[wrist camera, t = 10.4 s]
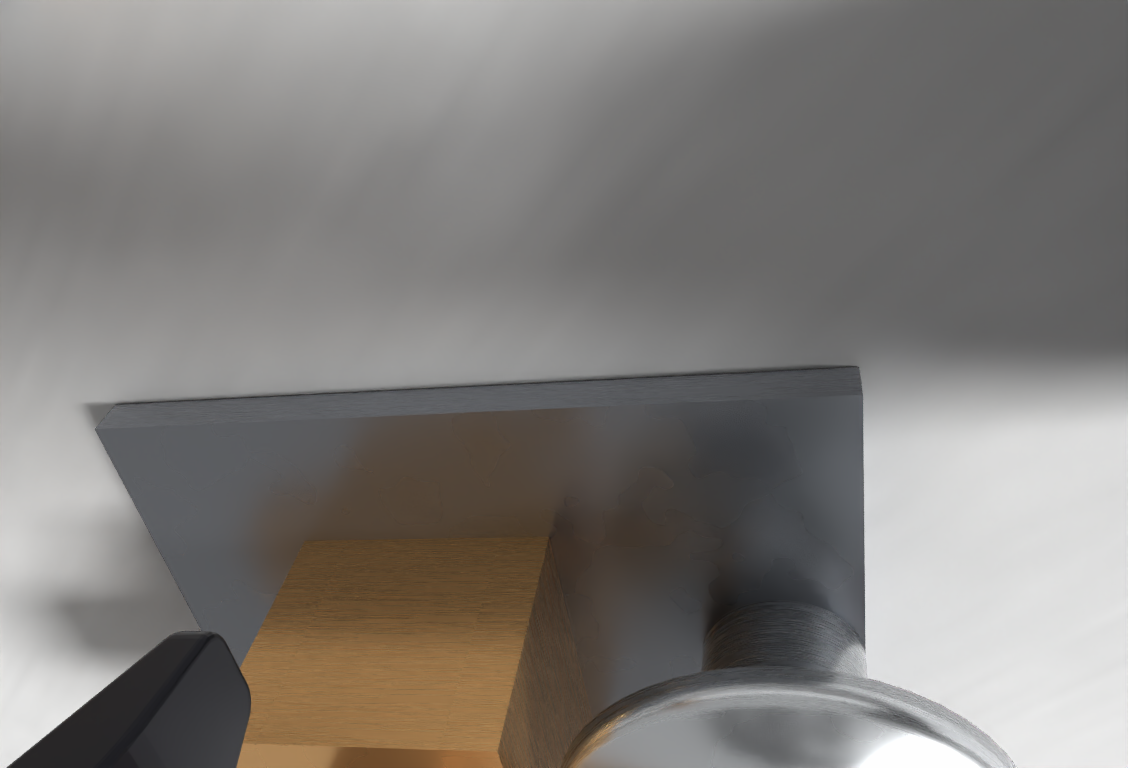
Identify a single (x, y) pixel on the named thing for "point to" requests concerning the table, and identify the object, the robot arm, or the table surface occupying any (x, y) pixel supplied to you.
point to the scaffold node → (538, 573)
